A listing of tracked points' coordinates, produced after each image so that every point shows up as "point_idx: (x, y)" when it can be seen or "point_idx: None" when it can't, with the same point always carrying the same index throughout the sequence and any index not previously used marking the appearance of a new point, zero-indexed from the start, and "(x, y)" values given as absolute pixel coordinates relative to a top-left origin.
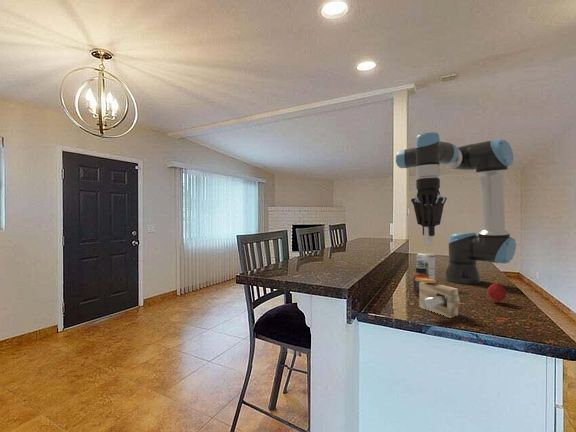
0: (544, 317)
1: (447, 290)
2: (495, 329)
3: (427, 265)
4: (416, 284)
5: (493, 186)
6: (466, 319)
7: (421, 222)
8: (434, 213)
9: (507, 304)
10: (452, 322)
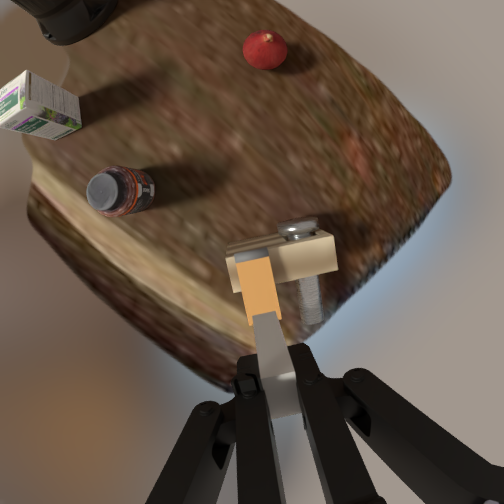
0: (367, 70)
1: (330, 271)
2: (388, 217)
3: (47, 112)
4: (130, 213)
5: None
6: (335, 225)
7: (235, 438)
8: (391, 465)
9: None
10: None
